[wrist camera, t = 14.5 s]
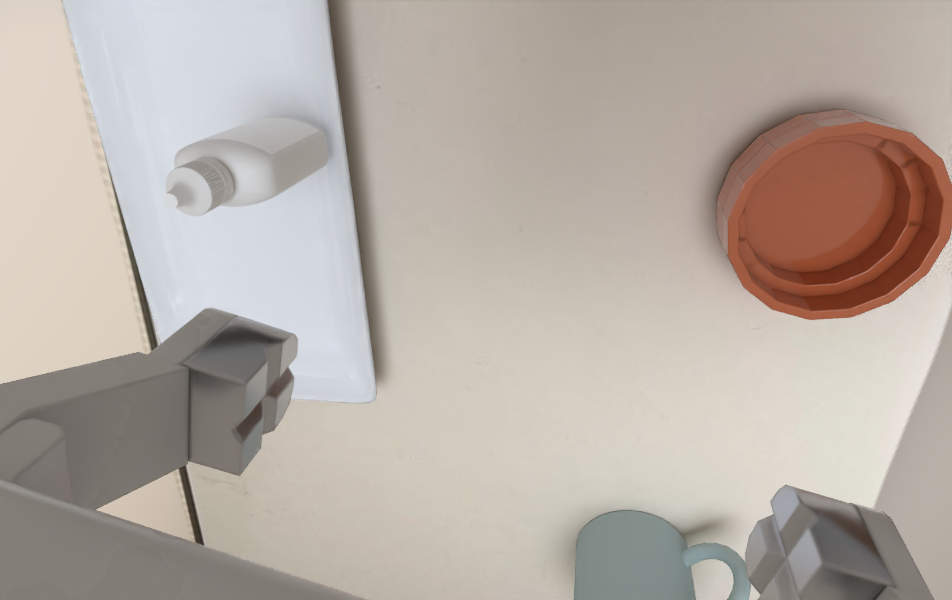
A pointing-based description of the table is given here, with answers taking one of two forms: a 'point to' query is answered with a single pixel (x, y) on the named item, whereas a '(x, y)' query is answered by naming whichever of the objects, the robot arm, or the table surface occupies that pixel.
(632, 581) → the mug
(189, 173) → the eye dropper bottle
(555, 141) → the table surface
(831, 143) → the bowl
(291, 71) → the tray
